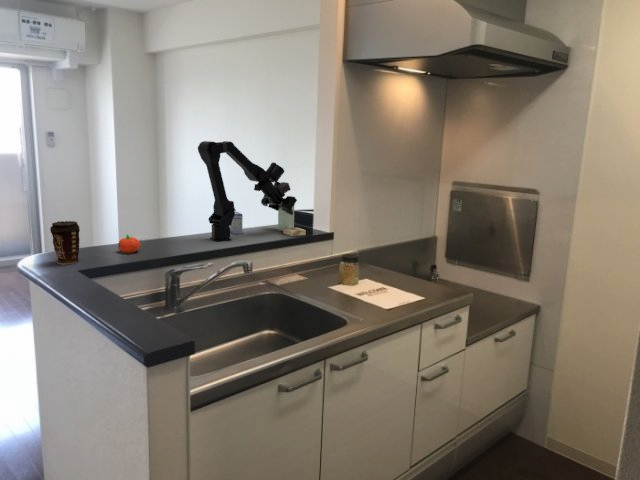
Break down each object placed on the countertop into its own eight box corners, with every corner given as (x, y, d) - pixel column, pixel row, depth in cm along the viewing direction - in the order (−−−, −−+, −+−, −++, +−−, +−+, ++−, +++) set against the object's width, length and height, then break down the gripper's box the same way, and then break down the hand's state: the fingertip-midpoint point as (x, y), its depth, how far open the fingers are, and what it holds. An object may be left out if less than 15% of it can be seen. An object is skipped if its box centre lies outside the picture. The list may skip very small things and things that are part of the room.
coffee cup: (62, 258, 173) (59, 219, 171) (86, 259, 173) (84, 220, 171) (47, 265, 165) (44, 224, 162) (73, 265, 165) (71, 225, 162)
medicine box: (227, 230, 230) (227, 211, 228) (237, 230, 232) (237, 211, 230) (232, 234, 223) (232, 214, 221) (242, 233, 224) (242, 213, 223)
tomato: (126, 256, 181) (123, 239, 179) (115, 252, 186) (112, 235, 184) (145, 251, 185) (142, 234, 184) (134, 247, 191) (131, 230, 189)
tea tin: (285, 232, 231) (285, 204, 228) (277, 230, 234) (278, 203, 232) (294, 230, 234) (294, 203, 232) (286, 229, 238) (287, 202, 235)
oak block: (291, 237, 222) (291, 231, 221) (283, 234, 228) (283, 228, 227) (305, 235, 226) (305, 230, 225) (297, 233, 231) (297, 227, 231)
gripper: (293, 178, 220) (312, 202, 230) (266, 174, 233) (285, 197, 243) (279, 197, 216) (298, 221, 226) (252, 193, 230) (271, 216, 239)
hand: (288, 213), depth 234 cm, fingers closed on tea tin, 5 cm apart
